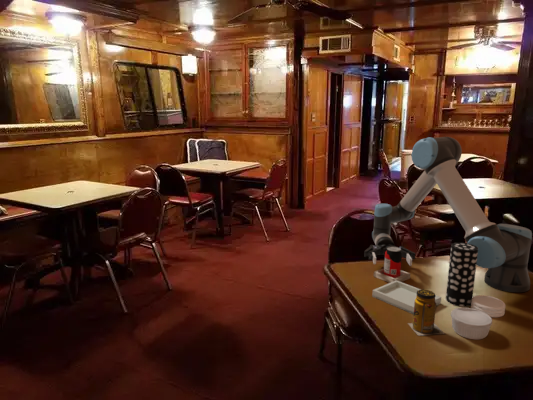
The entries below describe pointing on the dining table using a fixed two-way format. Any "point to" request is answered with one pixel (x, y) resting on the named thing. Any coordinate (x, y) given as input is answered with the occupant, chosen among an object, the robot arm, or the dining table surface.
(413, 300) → the tray
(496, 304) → the shallow round dish
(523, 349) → the dining table surface
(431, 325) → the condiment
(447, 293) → the spotted tube
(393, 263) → the beverage can
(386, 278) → the collar
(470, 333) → the ramekin
